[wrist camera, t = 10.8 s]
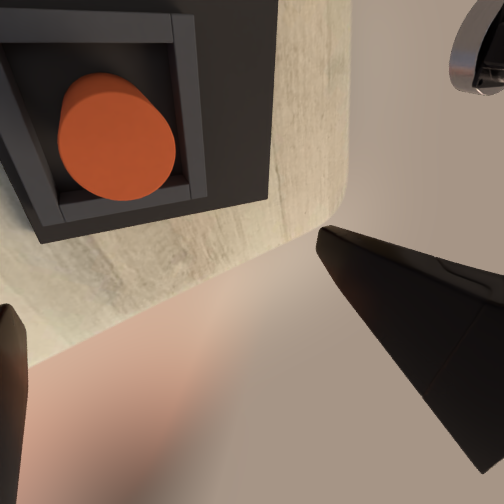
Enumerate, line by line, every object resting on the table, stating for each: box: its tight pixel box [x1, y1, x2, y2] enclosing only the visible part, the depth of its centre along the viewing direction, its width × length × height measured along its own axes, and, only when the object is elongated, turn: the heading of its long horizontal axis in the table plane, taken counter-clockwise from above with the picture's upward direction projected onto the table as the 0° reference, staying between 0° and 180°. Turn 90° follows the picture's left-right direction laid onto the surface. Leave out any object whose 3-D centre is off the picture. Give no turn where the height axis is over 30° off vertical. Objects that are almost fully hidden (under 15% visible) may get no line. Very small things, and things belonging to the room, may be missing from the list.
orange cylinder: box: [58, 73, 176, 201], centre depth 13 cm, size 4×4×5 cm
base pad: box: [0, 0, 278, 244], centre depth 15 cm, size 14×12×2 cm
